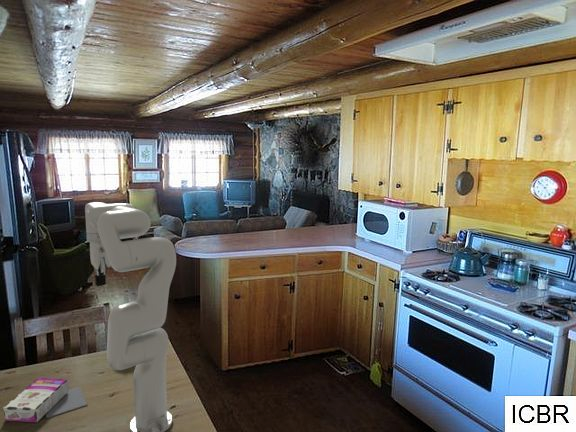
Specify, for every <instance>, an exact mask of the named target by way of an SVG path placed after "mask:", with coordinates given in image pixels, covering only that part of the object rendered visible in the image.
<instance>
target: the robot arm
mask: <svg viewBox="0 0 576 432" xmlns="http://www.w3.org/2000/svg"><path fill="white" fill-rule="evenodd" d="M84 212H85V213H84V214H85V215H84V216H85V229H86V231H85V232H86V242H87V243H89V256H90V263H91V264H90V265H92V267H93V268H94V282H95V286H96V287H100V286H105V285H106V283H107V282H106V281H107V280H106V268H108V269H109V268H112V269H113V270H114V271H115V272H117V273H126V272H130V271H137V270H142V269H147V268H150V269H149V271H147V273H145V275H144V276H143V277H142V278H141V281H140V283H139V285H138V288H137V289H138V290H137V298H136V299H135V300H134V301H130V302H129V301H128V302H126V303H121V304H118V305H116V306H115V307H113V308H112V309H111V311H110V313H109V316H108V321H107V335H106V336H107V338H106V339H107V340H106V358H107V363H108V365H109V367H110V368H111V369H113V370H114V371H123V370H126V369H129V368H133V367H134V370H133V371H134V372H133V379H132V380H133V402H134V403H133V404H134V405H133V407H134V417H133V418H132V419H131V420H130V423H129V431H130V432H166V431H168V430H169V428H171V426H172V424H173V415H172V413H170V411H168V406H167V405H168V403H167V401H168V399H167V357H168V350H169V336H168V333H167V332H166V330H165V329H164V328H162V327H163V325H164V324H165V323H166V319H167V314H168V313H167V312H168V305H169V304H168V303H169V302H168V301H169V294H170V293H169V292H170V287H171V284H172V281H173V277H174V274H175V271H176V267H177V252H176V248H175V246H174V244H173V242H172V241H171V240H170V239H168V238H167V237H161V236H160V237H158V236H156V237H154V236H152V237H145V238H144V237H143V238H138V239H131V240H130V239H129V238H137V237H141V236H143V235H145V234H147V233H148V231H149V230H150V229H151V222H152V221H151V218H150V215H148V214H147V213H146V211H143V210H141V209H137V208H135V206H134V205H133V204H132V203H123V202H120V203H107V202H106V203H105V202H101V201H100V202H99V201H93V202H89V203H86V204H85V207H84ZM123 239H129V240H124V241H122V240H123Z"/></svg>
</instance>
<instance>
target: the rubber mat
mask: <svg viewBox="0 0 576 432" xmlns="http://www.w3.org/2000/svg"><path fill="white" fill-rule="evenodd" d="M86 406H87V407H88V403H87V400H86V398H85V396H84V394H83V391H82V389H81V387H80V386H76V387H72V388H69V391H68V393H66V394H65V395H64V396H63V397H62V398H61V399H60V400H59V401H58V402H57V403H56V404H55V405H54V406H53V407H52V408H51V409H50V410H49V411H48V412H47V413H46V414H45V415H44V416H45V418H46V419H50V418H52V417H55V416H59V415H62V414H65V413H69V412H71V411H75V410H77V409H81V408H83V407H86Z"/></svg>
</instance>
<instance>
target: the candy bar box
mask: <svg viewBox="0 0 576 432" xmlns="http://www.w3.org/2000/svg"><path fill="white" fill-rule="evenodd" d="M69 389H70V388H69V383H68V378H67V379H63V378H47V377H45V378H44V377H37V378H36V379H35V380H34V381H33V382H31V384H30V385H28V386H27V387H26V388H25V389H24V390H22V391H20V393H18V394H17V395H16V396H15V397H14V398H13V399H12V400H10V401H9V402H8V403H6V405H4V406H2V410H3V416H4V420H5V421H6V422H8V421H9V422H21V423H22V422H24V423H25V422H26V423H38V422H39V421H41V419H42V418H43V417H44V416H46V415H45V414H46V413H47V412H48V411H49V410H50V409H51V408H52V407H53V406H54V405H55V404H56V403H57V402H58V401H59V400H60V399H61V398H62V397H63V396H64V395H65V394H66V393H68V391H69Z"/></svg>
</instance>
